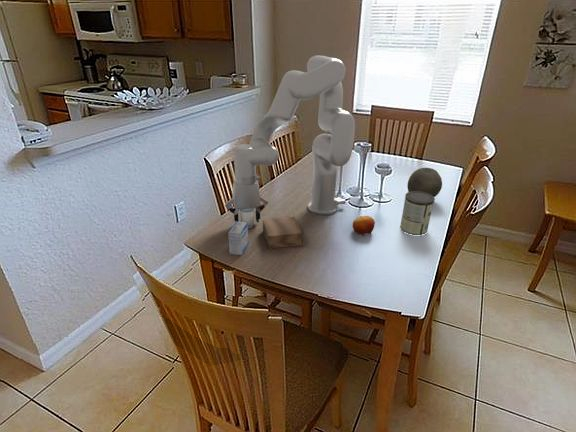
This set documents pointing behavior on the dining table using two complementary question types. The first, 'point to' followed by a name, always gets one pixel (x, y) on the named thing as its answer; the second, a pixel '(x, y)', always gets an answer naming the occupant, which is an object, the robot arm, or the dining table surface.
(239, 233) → the medicine box
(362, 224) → the fruit
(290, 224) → the walnut block
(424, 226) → the coffee can
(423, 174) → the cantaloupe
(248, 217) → the pill bottle
